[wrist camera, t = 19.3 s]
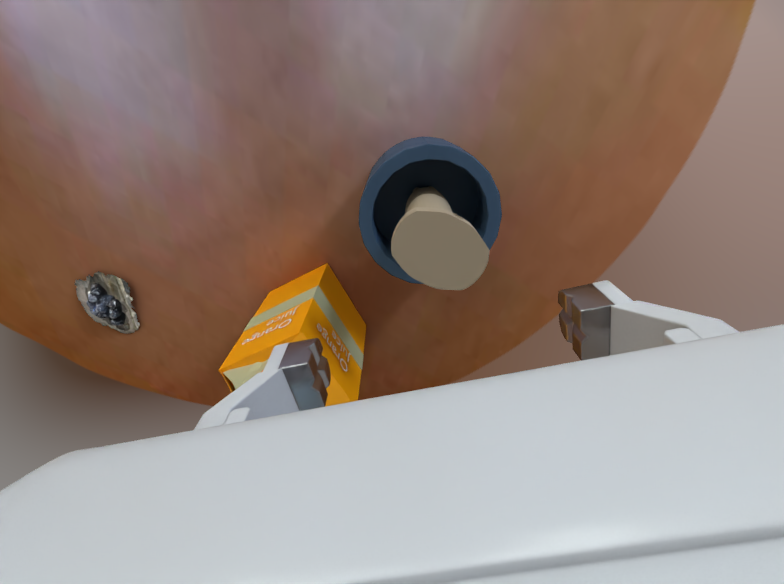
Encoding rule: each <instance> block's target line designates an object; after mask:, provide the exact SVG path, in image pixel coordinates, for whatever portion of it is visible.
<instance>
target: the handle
mask: <svg viewBox="0 0 784 584" xmlns="http://www.w3.org/2000/svg"><path fill="white" fill-rule="evenodd" d="M391 252H392V256H393V257H394V259H395V260H396V261H397V263H398V264H399V265H400V266H401V268H402V269H403V270H404V271H405V272H406V273H407V274H408V275H409V276H411V277H412V278H414V279H415V280H417V281H420V282H422V283H424V284H426V285H428V286H430V287H433V288H436V289H444V290H463V289H466V288H468V287H469V286H471V285H472V284H473V283H474V282H476V281H477V280H478V278H479V277H480V276H481V275H482V273H483V271H484V270H485V268H486V265H487V263H488V259H489V249H488V247H487V245H486V244H485V242H484V241H483V239H482V238H481V236H480V235H479V234H478V232H477V231H476V229H475V228H474V227H473V226H472V225H471V223H470V222H468V221H467V220H465V219H464V218H462V217H460V216H459V215H457V214H455V213H453V212H452V210H451V207H450V205H449V203H448V202H447V200H446V199H445V197H444V196H443V195H442V194H441V193H440V192H438V191H437V190H436V189H435V188H434V187H432V186H428V187H422V188H418V187H416V188H415V189H413V193H412V194H411V195H410V196H409V198H408V200H407V203H406V207H405V215H404V216H403V217H402V218H401V219H400V221H399V222H398V224H397V225H396V228H395V230H394V232H393V236H392V240H391Z"/></svg>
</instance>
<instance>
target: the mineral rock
mask: <svg viewBox="0 0 784 584" xmlns="http://www.w3.org/2000/svg"><path fill="white" fill-rule="evenodd" d="M86 278H87V279H86V281H82V280H80V279H79V281H78V280H76V283H75V282H74V283H75V285H76V286H77V288H76V291H77V296H78V300H79V301H81V303H82V304H81V305H82V306H83V307H85V308H84V309H85V311H86V312H87V314H88V315H89V316H91V317H92V318H93V319H94V321H96V322H100V323H102V325H103V326H104V325H105V326H107V325H109V327H111V329H112V328H114V329H115V330H118V331H120V332H121V333H132V332H133V333H134V332H135V330H138V326H140V323H138V322H137V321H138V320H137V316H136V315H137V314H136V313H135V312H134V311H133V310H132V309H131V307H133V306H131V301H132V300H133V298H132V297H130V287H128V283H126V281H124V280H123V279H122V278H121V279H119V277H118V278H117V277H116V276H113V275H109V274H108V275H106V276H105V275H104V274H103V273H101V272H97V273H94V276H93V277H91V276H90V275H89V276H87V277H86ZM130 300H131V301H130Z"/></svg>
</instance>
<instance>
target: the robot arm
mask: <svg viewBox="0 0 784 584" xmlns="http://www.w3.org/2000/svg"><path fill="white" fill-rule="evenodd" d="M558 303H559V304H560V306H561V307H562V308H563V309H562V311H561V312H560V314H559V322H560V327H561V331H562V333H563V336H564V338H565V339H566V340H567V342H570V343H572V344H573V350H574V351H575V353H576V354H577V356H578V357H579V358H580V360H581V361H577V362H571V363H565V364H560V365H554V366H549V367H543V368H538V369H533V370H526V371H521V372H516V373H510V374H504V375H499V376H494V377H488V378H482V379H476V380H471V381H466V382H460V383H454V384H448V385H443V386H437V387H432V388H426V389H420V390H415V391H409V392H404V393H398V394H392V395H387V396H381V397H376V398H370V399H364V400H359V401H353V402H348V403H342V404H336V405H331V406H325V405H326V400H327V396H328V393H327V390H326V388H327V387H328V386H329V385H330V381H331V373H330V367H329V363H328V360H327V358H325V357H324V356H322V351H323V346H322V344H321V341H320V340H319V339H318V338H313V339H307V340H301V341H296V342H291V343H284V344H280V345H276V346H274V348H273V350H272V353H271V355H270V357H269V359H268V361H267V363H266V365H265V368H264V370H263V372H260V373H257V374H256V375H255V376H253V377H252V378H251V379H249V380H248V381H247V382H245V383H244V384H243V385H241V386H240V387H239V388H237V389H236V390H235V391H233V392H232V393H231V394H229V395H228V396H227V397H225V398H224V399H223V400H221V401H220V402H219V403H217V404H216V405H215V406H213V407H212V408H211V409H209V410H208V411H207V412H205V413H204V414H203V416H202V417H201V419H200V420H199V422H198V424H197V426H196V428H195V429H194V430H192V431H186V432H181V433H175V434H170V435H164V436H158V437H153V438H148V439H142V440H136V441H130V442H125V443H119V444H114V445H109V446H103V447H96V448H90V449H84V450H78V451H73V452H69V453H66V454H64V455H62V456H60V457H57V458H55V459H54V460H52V461H50V462H48V463H46V464H45V465H43V466H41V467H39V468H37V469H36V470H34V471H32V472H31V473H29V474H27V475H26V476H24V477H22V478H21V479H19V480H17V481H16V482H14V483H13V484H11V485H9V486H7V487H6V488H4V489H3V490H2V491H0V584H784V324H782V325H777V326H771V327H766V328H760V329H755V330H749V331H743V332H738V331H737V330H735V329H734V328H732V327H731V326H730V325H728V324H726V323H725V322H724V321H722V320H720V319H716V318H712V317H707V316H703V315H699V314H694V313H690V312H686V311H682V310H677V309H673V308H669V307H664V306H660V305H656V304H651V303H647V302H643V301H632V300H631V299H630V298H629V297H628V296H626V295H625V294H624V293H623V292H622V291H620V290H619V289H618V288H617V287H615V286H614V285H613V284H612V283H611V282H610V281H607V280H605V281H600V282H596V283H591V284H587V285H582V286H577V287H573V288H568V289H564V290H560V291H559V293H558Z"/></svg>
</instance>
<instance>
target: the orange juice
mask: <svg viewBox="0 0 784 584" xmlns="http://www.w3.org/2000/svg"><path fill="white" fill-rule="evenodd" d="M365 335H366V324H365V322H364V321H363V319H362V318H361V316H360V314H359V313H358V311H357V310H356V308H355V306H354V305H353V303H352V301H351V300H350V298H349V297H348V295H347V293H346V292H345V290H344V289H343V287H342V285H341V284H340V282H339V281H338V279H337V277H336V276H335V274H334V273H333V271H332V269H331V268H330V266H329V265H328V263H326V264H324V265H322V266H320V267H318V268H316V269H314V270H312V271H310V272H308V273H306V274H304V275H302V276H300V277H298V278H296V279H294V280H292V281H290V282H288V283H286V284H284V285H282V286H280V287H278V288H276V289H274V290H272V291H270V292H269V294H268V295H267V297H266V298H265V300H264V301H263V303H262V304H261V306H260V307H259V309H258V310H257V312H256V313H255V315H254V317H253V318H252V319H251V320H250V322H249V323H248V325H247V326H246V328H245V329H244V331H243V333H242V335H241V337H240V338H239V340H238V341H237V343H236V344H235V346H234V347H233V349H232V350H231V352H230V353H229V355H228V356H227V358H226V360H225V361H224V363H223V364H222V366H221V367H220V369H219V370H218V371H219V372H220V373H221V374H222V376H223V377H224V379H225V381H226V383H227V385H228V387H229V389H230V391H231V393H232V392H233V391H235V390H236V389H237V388H239V387H240V386H241V385H243V384H244V383H245V382H247V381H248V380H249V379H251V378H252V377H253V376H255V375H256V374H257V373H260V372H263V370H264V368H265V365H266V363H267V361H268V359H269V357H270V355H271V353H272V350H273V348H274V346H276V345H280V344H284V343H291V342H296V341H301V340H307V339H313V338H318V339H319V340H320V341H321V344H322V346H323V351H322V356H324V357H325V358H327V360H328V363H329V367H330V373H331V381H330V385H329V386H328V387H327V388H326V390H327V393H328V396H327V400H326V405H325V406H331V405H336V404H342V403H348V402H353V401H358V395H359V386H360V377H361V370H362V365H363V356H364V355H363V352H364V343H365Z"/></svg>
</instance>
